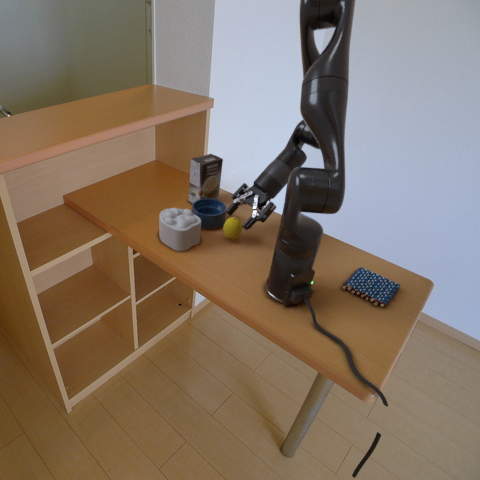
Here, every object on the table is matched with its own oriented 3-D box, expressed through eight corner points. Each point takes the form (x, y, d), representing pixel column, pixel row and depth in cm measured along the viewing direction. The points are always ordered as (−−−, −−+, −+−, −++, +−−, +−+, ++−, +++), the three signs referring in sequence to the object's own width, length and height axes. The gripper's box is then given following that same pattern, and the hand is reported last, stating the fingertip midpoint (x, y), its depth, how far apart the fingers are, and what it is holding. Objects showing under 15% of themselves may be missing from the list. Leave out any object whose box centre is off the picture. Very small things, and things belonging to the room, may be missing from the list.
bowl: (231, 226, 116) (232, 211, 113) (199, 233, 113) (200, 218, 110) (215, 210, 125) (216, 196, 121) (186, 216, 122) (186, 201, 118)
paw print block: (179, 253, 104) (180, 228, 99) (151, 234, 112) (150, 210, 107) (204, 240, 110) (206, 215, 105) (175, 223, 118) (175, 199, 113)
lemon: (240, 245, 107) (243, 223, 103) (221, 243, 108) (224, 221, 104) (240, 235, 112) (243, 213, 107) (222, 233, 113) (225, 211, 108)
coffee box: (199, 208, 126) (201, 165, 117) (188, 200, 130) (189, 158, 121) (219, 200, 130) (223, 158, 121) (207, 194, 134) (211, 152, 125)
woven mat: (357, 270, 98) (359, 264, 97) (399, 289, 92) (402, 283, 91) (340, 288, 92) (342, 282, 91) (383, 310, 86) (386, 304, 85)
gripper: (252, 162, 107) (216, 204, 110) (285, 182, 96) (243, 227, 99) (264, 175, 112) (229, 215, 114) (296, 195, 101) (256, 238, 104)
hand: (235, 221), depth 107 cm, fingers open, 8 cm apart
